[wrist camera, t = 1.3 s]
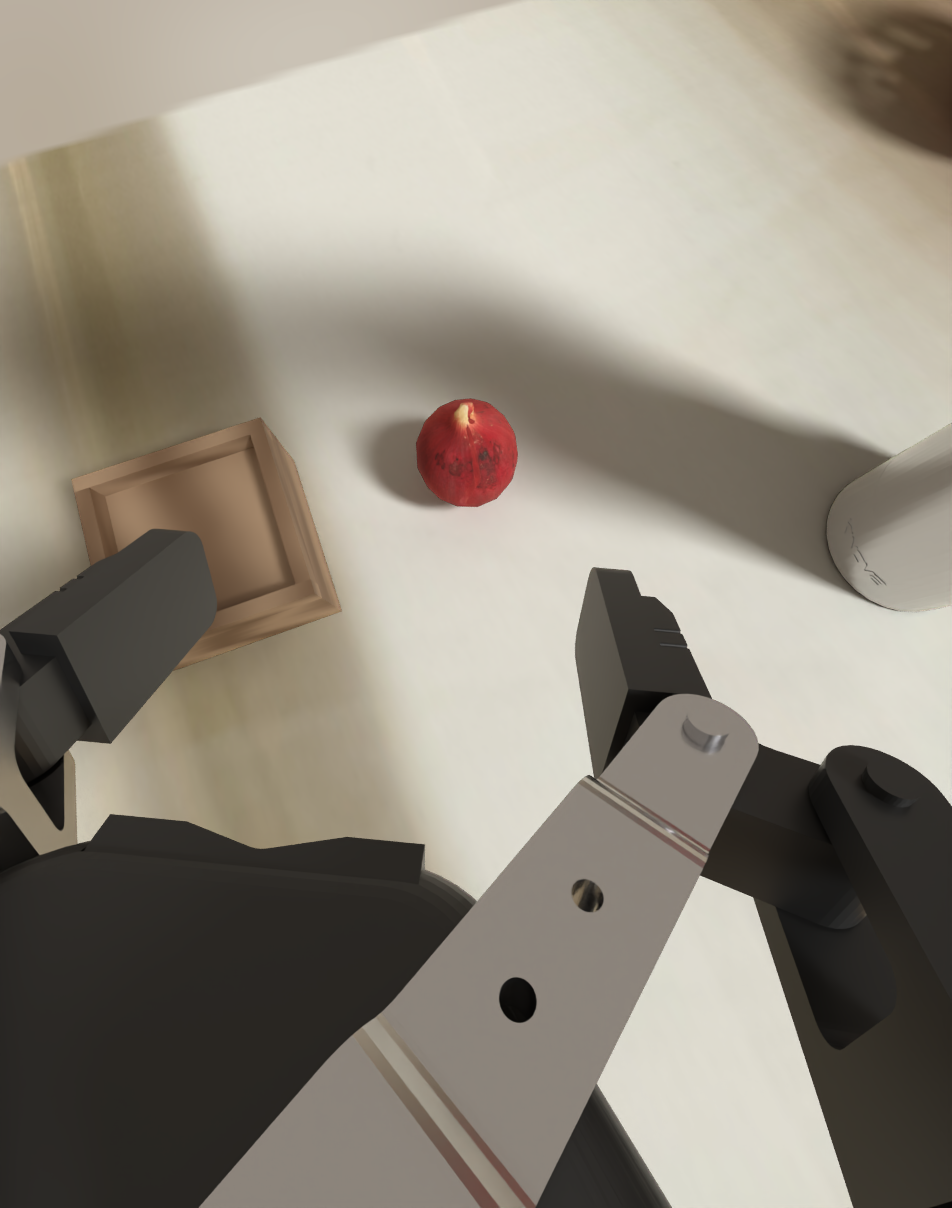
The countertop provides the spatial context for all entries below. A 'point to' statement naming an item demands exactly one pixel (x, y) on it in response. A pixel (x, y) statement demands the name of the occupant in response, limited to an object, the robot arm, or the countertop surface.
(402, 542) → the countertop surface
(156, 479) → the wooden tray
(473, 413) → the onion
